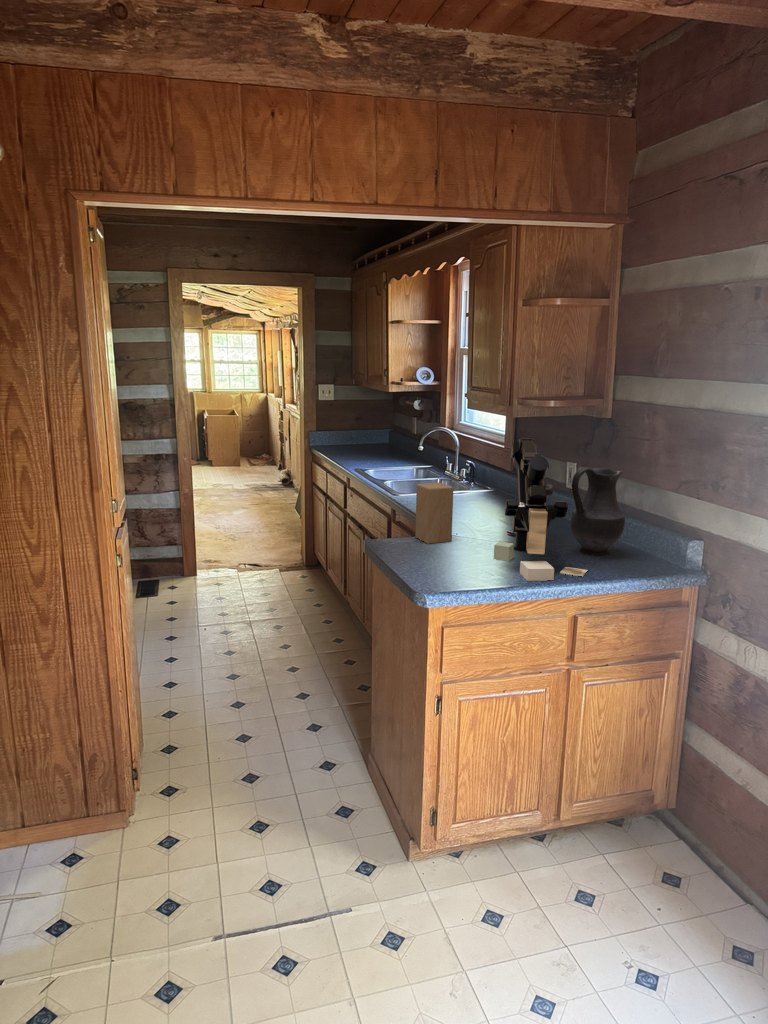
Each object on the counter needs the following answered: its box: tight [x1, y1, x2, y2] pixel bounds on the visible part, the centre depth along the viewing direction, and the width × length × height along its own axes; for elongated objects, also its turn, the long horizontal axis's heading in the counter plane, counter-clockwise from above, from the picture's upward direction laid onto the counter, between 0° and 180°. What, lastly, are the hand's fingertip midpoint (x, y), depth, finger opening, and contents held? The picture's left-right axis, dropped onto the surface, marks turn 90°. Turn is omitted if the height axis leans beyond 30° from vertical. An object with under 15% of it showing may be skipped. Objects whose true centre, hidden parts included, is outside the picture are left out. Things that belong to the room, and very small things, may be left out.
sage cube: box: [493, 541, 515, 562], centre depth 235 cm, size 5×5×5 cm
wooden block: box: [414, 482, 454, 545], centre depth 257 cm, size 10×10×20 cm
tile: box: [559, 566, 588, 578], centre depth 222 cm, size 7×7×1 cm
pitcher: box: [570, 466, 626, 557], centre depth 240 cm, size 17×21×30 cm
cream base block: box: [519, 560, 555, 582], centre depth 217 cm, size 8×8×4 cm
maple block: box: [526, 508, 548, 555], centre depth 219 cm, size 5×5×13 cm
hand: (537, 531), depth 218 cm, fingers closed on maple block, 5 cm apart
